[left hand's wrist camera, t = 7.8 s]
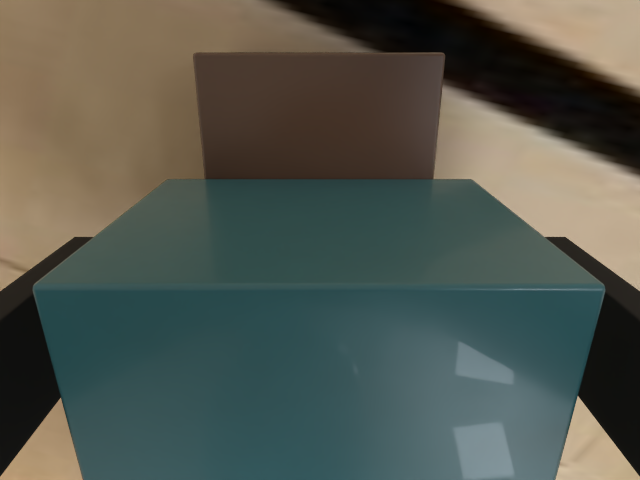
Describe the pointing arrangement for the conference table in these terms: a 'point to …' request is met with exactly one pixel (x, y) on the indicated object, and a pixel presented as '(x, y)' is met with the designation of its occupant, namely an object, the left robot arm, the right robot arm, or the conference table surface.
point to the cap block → (319, 334)
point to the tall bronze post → (319, 114)
